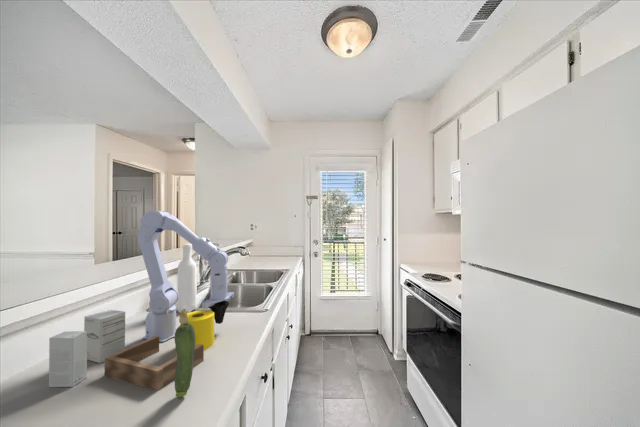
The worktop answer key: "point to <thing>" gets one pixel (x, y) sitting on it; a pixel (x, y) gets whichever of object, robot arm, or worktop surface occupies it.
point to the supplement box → (104, 334)
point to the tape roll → (202, 327)
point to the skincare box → (67, 358)
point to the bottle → (187, 281)
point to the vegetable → (184, 354)
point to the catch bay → (145, 365)
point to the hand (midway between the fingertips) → (219, 322)
